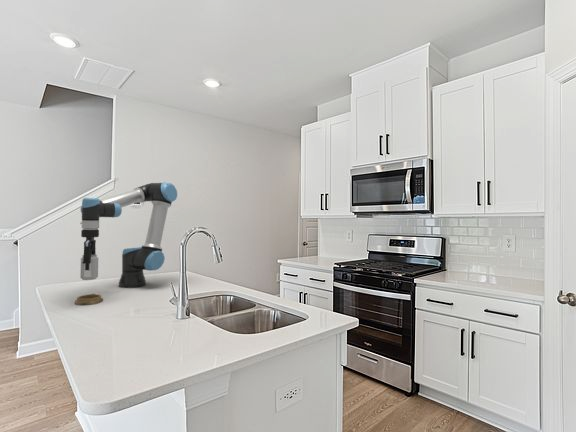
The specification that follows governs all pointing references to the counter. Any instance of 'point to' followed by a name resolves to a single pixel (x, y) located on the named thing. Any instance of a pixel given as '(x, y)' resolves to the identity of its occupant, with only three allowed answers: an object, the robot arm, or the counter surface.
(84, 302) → the seat
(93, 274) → the can
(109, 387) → the counter surface
